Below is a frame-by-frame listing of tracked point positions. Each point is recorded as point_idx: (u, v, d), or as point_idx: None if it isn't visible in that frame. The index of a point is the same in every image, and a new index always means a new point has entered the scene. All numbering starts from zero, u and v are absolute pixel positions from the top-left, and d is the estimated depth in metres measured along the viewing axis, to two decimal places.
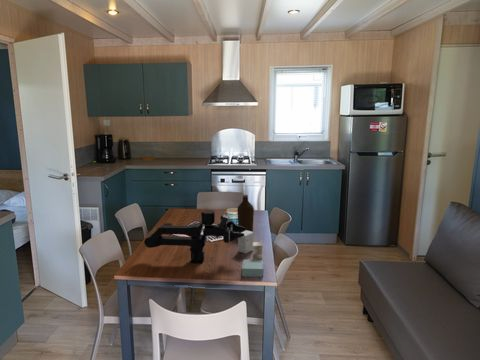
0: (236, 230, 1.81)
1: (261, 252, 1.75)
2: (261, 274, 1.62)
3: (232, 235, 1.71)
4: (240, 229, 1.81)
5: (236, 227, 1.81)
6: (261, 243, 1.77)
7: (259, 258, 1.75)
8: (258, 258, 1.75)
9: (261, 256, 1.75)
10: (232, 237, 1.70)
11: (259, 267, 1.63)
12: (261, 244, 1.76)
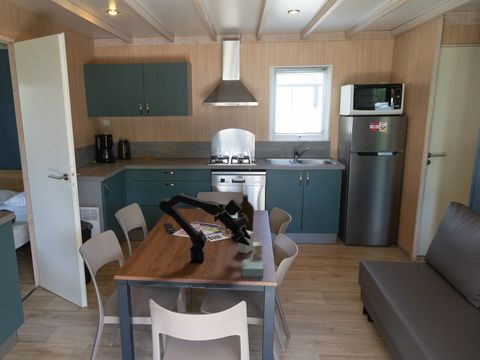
0: None
1: (261, 252, 1.75)
2: (261, 274, 1.62)
3: (240, 238, 1.71)
4: (246, 236, 1.81)
5: (244, 231, 1.81)
6: (261, 243, 1.77)
7: (259, 258, 1.75)
8: (258, 258, 1.75)
9: (261, 256, 1.75)
10: (239, 239, 1.70)
11: (259, 267, 1.63)
12: (261, 244, 1.76)
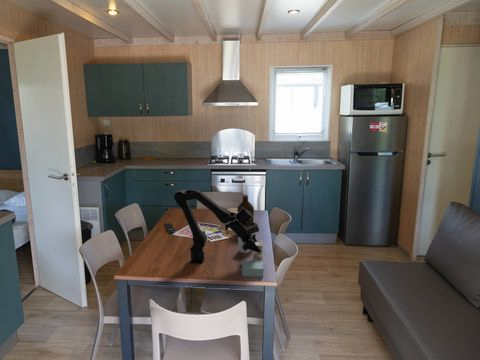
0: None
1: (261, 252, 1.75)
2: (261, 274, 1.62)
3: (251, 245, 1.73)
4: None
5: (254, 241, 1.79)
6: (261, 243, 1.77)
7: (259, 258, 1.75)
8: (258, 258, 1.75)
9: (261, 256, 1.75)
10: (250, 246, 1.73)
11: (259, 267, 1.63)
12: (261, 244, 1.76)
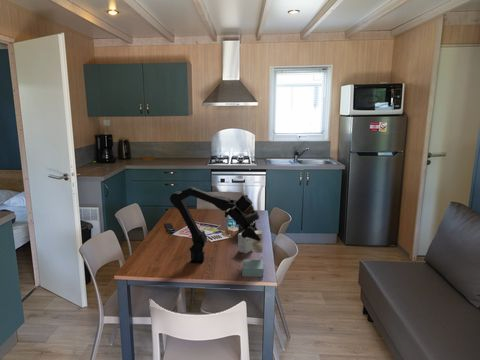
0: None
1: (261, 240, 1.72)
2: (261, 274, 1.62)
3: (251, 233, 1.70)
4: None
5: (254, 229, 1.77)
6: (261, 231, 1.74)
7: (259, 247, 1.73)
8: (258, 246, 1.73)
9: (261, 244, 1.72)
10: (249, 234, 1.70)
11: (259, 267, 1.63)
12: (261, 232, 1.73)
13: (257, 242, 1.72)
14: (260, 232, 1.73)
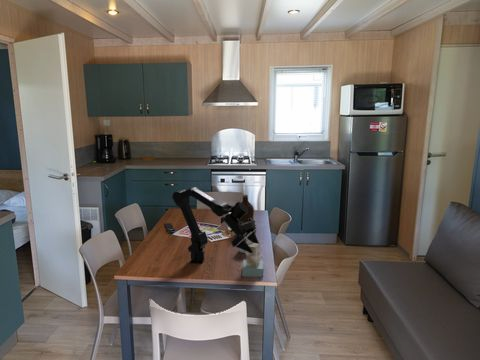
0: (251, 239, 1.70)
1: (254, 254, 1.62)
2: (261, 274, 1.62)
3: (242, 244, 1.60)
4: (254, 242, 1.69)
5: (253, 237, 1.69)
6: (257, 244, 1.64)
7: (253, 260, 1.63)
8: (252, 260, 1.63)
9: (254, 258, 1.63)
10: (241, 245, 1.60)
11: (259, 267, 1.63)
12: (256, 245, 1.63)
13: (251, 255, 1.63)
14: (255, 245, 1.64)
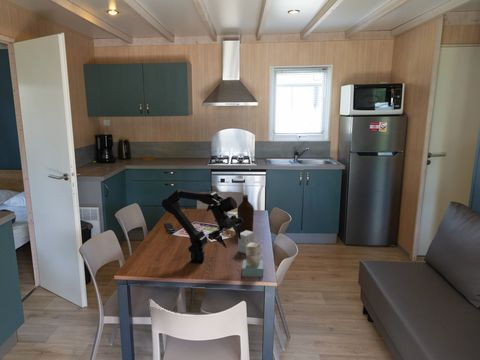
0: (235, 230, 1.75)
1: (254, 254, 1.62)
2: (261, 274, 1.62)
3: None
4: (237, 234, 1.74)
5: (236, 230, 1.74)
6: (257, 244, 1.64)
7: (253, 260, 1.63)
8: (252, 260, 1.63)
9: (254, 258, 1.63)
10: (217, 238, 1.69)
11: (259, 267, 1.63)
12: (256, 245, 1.63)
13: (251, 255, 1.63)
14: (255, 245, 1.64)
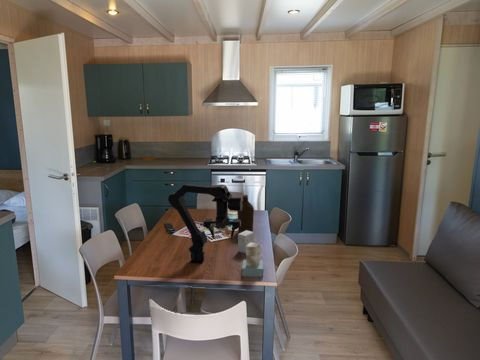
0: None
1: (254, 254, 1.62)
2: (261, 274, 1.62)
3: None
4: None
5: None
6: (257, 244, 1.64)
7: (253, 260, 1.63)
8: (252, 260, 1.63)
9: (254, 258, 1.63)
10: None
11: (259, 267, 1.63)
12: (256, 245, 1.63)
13: (251, 255, 1.63)
14: (255, 245, 1.64)
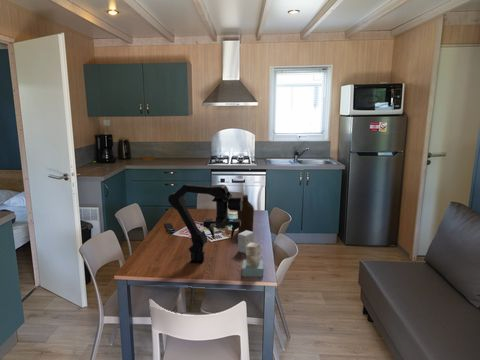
0: None
1: (254, 254, 1.62)
2: (261, 274, 1.62)
3: None
4: None
5: None
6: (257, 244, 1.64)
7: (253, 260, 1.63)
8: (252, 260, 1.63)
9: (254, 258, 1.63)
10: None
11: (259, 267, 1.63)
12: (256, 245, 1.63)
13: (251, 255, 1.63)
14: (255, 245, 1.64)
